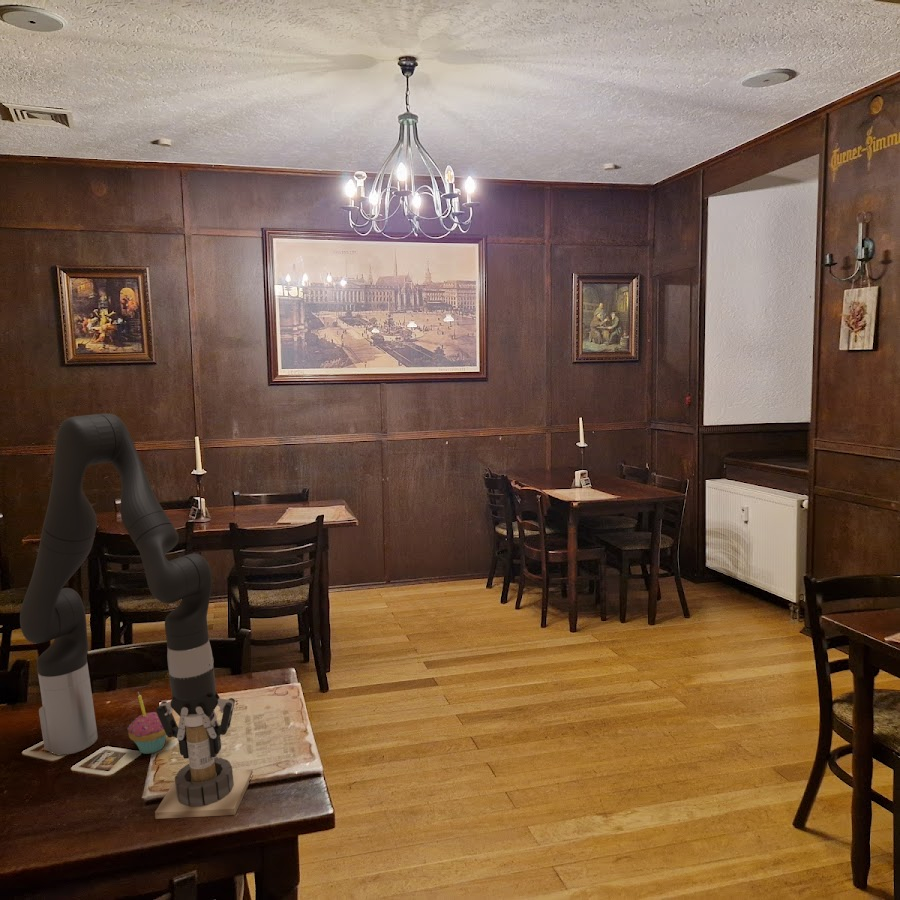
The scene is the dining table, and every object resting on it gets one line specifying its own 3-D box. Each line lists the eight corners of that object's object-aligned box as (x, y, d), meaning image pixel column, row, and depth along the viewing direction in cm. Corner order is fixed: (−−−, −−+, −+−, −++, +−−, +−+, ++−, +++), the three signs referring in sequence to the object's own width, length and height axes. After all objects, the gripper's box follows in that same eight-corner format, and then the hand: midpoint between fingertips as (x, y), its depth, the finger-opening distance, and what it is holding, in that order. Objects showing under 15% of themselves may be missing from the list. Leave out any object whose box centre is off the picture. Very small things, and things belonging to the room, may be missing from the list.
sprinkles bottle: (214, 769, 140) (207, 702, 138) (218, 782, 136) (211, 712, 134) (189, 777, 138) (181, 708, 136) (192, 789, 134) (184, 719, 132)
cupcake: (121, 755, 154) (113, 700, 152) (150, 734, 161) (144, 681, 160) (155, 761, 151) (147, 705, 149) (183, 739, 158) (177, 685, 157)
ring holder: (155, 818, 132) (152, 794, 131) (180, 778, 144) (177, 756, 143) (234, 814, 132) (232, 790, 131) (252, 775, 144) (250, 752, 143)
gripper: (142, 678, 131) (154, 769, 133) (224, 674, 130) (234, 765, 133) (159, 659, 138) (170, 746, 141) (236, 655, 138) (246, 742, 140)
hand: (201, 755), depth 137 cm, fingers closed on sprinkles bottle, 4 cm apart
